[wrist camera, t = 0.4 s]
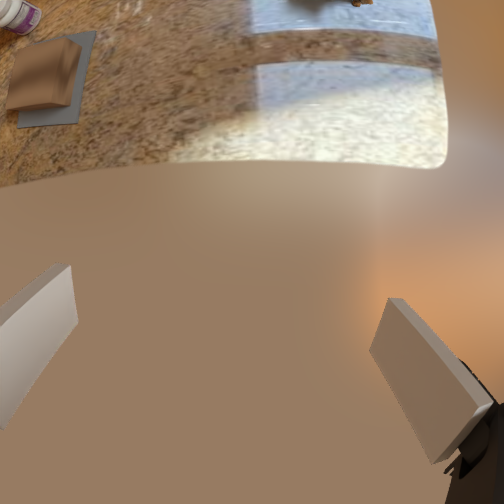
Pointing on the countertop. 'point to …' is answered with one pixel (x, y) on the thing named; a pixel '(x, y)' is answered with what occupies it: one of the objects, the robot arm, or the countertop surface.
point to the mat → (72, 112)
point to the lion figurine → (361, 2)
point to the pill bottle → (19, 16)
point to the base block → (43, 75)
